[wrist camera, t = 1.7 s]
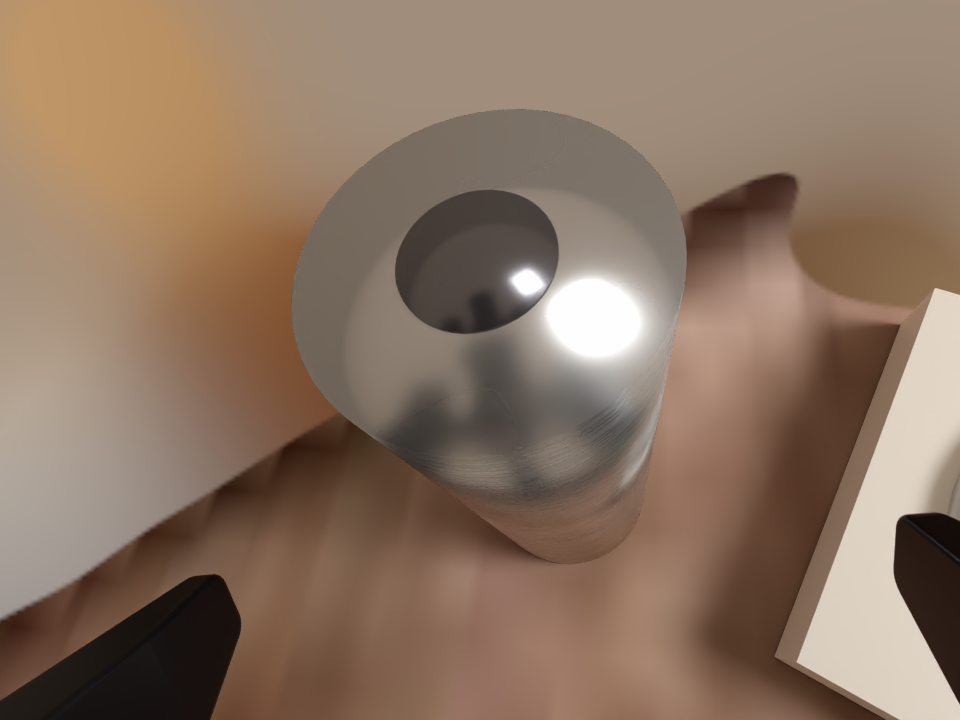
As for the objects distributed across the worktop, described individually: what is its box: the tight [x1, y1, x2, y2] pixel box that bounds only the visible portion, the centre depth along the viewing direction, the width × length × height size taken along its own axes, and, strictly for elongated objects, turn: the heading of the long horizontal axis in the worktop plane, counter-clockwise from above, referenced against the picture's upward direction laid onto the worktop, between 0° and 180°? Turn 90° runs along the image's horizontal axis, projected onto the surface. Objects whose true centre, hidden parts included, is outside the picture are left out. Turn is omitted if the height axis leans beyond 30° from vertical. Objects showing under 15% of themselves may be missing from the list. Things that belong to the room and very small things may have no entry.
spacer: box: [291, 109, 687, 564], centre depth 13 cm, size 5×5×13 cm
